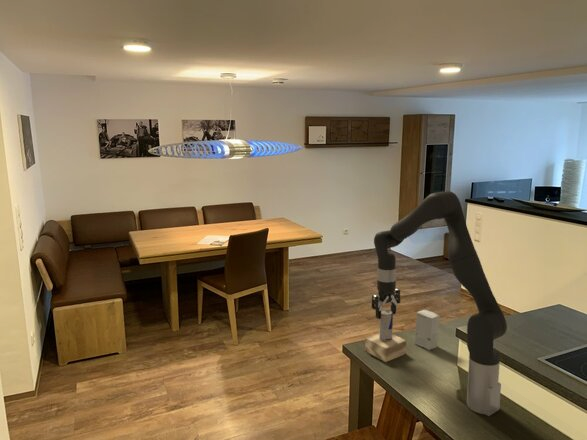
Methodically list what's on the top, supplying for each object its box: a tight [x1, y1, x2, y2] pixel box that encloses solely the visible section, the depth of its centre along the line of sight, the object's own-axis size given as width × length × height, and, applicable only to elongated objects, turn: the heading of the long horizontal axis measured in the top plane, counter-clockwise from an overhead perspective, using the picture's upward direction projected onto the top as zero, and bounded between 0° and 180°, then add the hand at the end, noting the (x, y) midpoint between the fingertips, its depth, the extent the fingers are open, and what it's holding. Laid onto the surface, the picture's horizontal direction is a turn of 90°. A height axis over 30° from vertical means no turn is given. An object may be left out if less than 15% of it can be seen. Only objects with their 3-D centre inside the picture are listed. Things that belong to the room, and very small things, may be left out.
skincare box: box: [414, 309, 441, 351], centre depth 190 cm, size 8×6×15 cm
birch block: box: [364, 332, 407, 363], centre depth 185 cm, size 12×12×6 cm
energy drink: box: [378, 309, 394, 342], centre depth 184 cm, size 5×5×12 cm
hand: (386, 316), depth 183 cm, fingers open, 8 cm apart
